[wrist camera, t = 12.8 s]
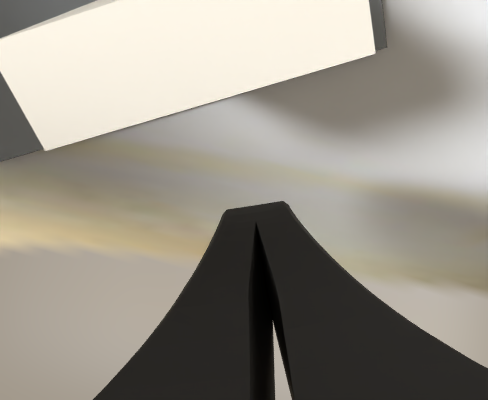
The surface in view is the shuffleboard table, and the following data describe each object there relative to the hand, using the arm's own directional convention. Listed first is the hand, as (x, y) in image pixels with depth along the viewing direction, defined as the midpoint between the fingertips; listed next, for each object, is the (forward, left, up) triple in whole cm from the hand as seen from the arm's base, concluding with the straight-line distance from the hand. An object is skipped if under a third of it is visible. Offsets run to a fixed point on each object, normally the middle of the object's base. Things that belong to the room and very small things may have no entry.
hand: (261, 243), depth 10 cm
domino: (0, +5, -6) cm, 8 cm away
